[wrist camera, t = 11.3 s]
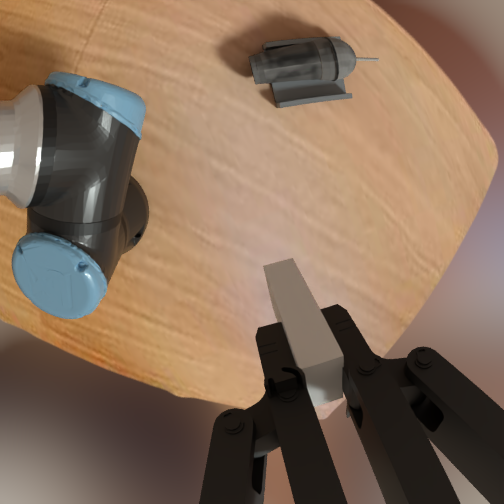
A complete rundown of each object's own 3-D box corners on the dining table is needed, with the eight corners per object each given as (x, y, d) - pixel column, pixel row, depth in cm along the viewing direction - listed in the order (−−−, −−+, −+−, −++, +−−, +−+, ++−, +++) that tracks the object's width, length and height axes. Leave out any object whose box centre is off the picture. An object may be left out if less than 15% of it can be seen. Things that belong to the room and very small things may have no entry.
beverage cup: (244, 39, 33) (378, 26, 31) (249, 62, 40) (367, 48, 38) (255, 80, 34) (395, 65, 31) (259, 100, 41) (381, 84, 39)
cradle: (276, 107, 42) (280, 107, 40) (262, 45, 37) (265, 42, 35) (345, 98, 43) (352, 98, 40) (333, 39, 37) (339, 36, 35)
